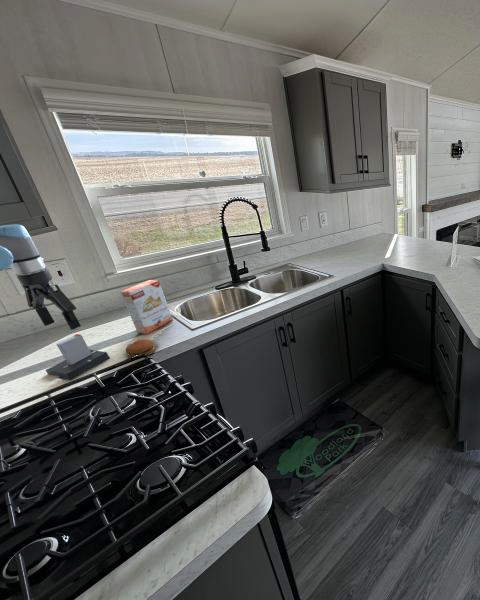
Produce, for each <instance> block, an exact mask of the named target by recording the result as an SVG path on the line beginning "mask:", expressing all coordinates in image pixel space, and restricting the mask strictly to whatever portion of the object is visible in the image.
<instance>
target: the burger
mask: <svg viewBox="0 0 480 600" xmlns="http://www.w3.org/2000/svg"><path fill="white" fill-rule="evenodd" d="M154 342H155V341H154V340H152V339H151V338H150V339H149V338H141V339H137V340H135V341H134V342H131V343H130V344H127V345H126V347H125V353H127V354H128V358H129V359H131V358H132V357H134V356H136V355H140V354H148V356H150V355H151V354H153V353H155V352H156V350H157V348H156V346H155V345H154Z"/></svg>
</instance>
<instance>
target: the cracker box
mask: <svg viewBox="0 0 480 600" xmlns="http://www.w3.org/2000/svg"><path fill="white" fill-rule="evenodd" d="M119 293H120V295H121V297H122V299H123V303H124V304H125V306H126V310H127V311H128V314H129V316H130V318H131V320H132V324H133V326H134V328H135V330H136V333H138V334H144V335H148V334H150V333H152V332H153V331H156V330H158V329H159V328H161V327H163V326H164V325H165V326H166V325H167V324H169V323H170V322H172V321H173V320H174V319H173V316H172V313H171V311H170V307H169V305H168V302H167V300H166V297H165V293H164V291H163V288H162V286H161V283H160V281H159V280H157V279H155V280H153V279H149V280H146V281H143V282H140V283H138V284H135V285H133V286H131V287H127V288H126V289H123V290H121V291H120V292H119Z"/></svg>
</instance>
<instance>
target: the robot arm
mask: <svg viewBox="0 0 480 600" xmlns="http://www.w3.org/2000/svg"><path fill="white" fill-rule="evenodd" d="M44 260H45V259H44V258H43V257H42V256H41V255H40V252H39V250H38V248H37V247H36V244H35V242H34V241H33V239H32V236H31V235H30V233H29V232H28V230H27V229H26V228H25V226H24V225H22V224H19V223H17V224H16V223H14V224H3V225H0V272H2V271H5V270H7V269H8V268H10V269H12V271H13V273H14V274H15V275H17V276H16V278H17V279H18V281H19V282H20V284H21V287H22V288H23V290H24V294H25V299H26V303H27V306H28V307H29V308H32V309H33V310H35V312H36V314H37V315H38V317H39V318H40V320H41V322H42V324H43V325H44V326H45V327H48V326H49V325H52V324H54V323H55V320H54V318H53V317H52V315H51V313H50V311H49V309H48V308H47V305H46V304H45V300H48V301H50V302H51V303H52V304H53V305H54V306H56V307H57V308H58V309H59V310H60V311H61V315H62V316H63V318H64V320H65V321H66V323H67V325H68V327H69V329H70V330H71V331H73V330H75V329H78V328H80V327H81V326H82V325H81V323H80V322H79V320H78V317H77V316H76V314H75V312H74V311H75V310H77V307H76V306H75V305H74V303H73V302H72V301H71V300H70V299H69V298H68V297H67V295H66V294H65V293H64V292H63V291H62V290H61V288H60V287H59V285H58V284H54V285H53V284H52V285H51V283H50V281H52V280H53V276H52V274H51V272H50V270H49V269H47V266H46V264H45V262H44Z"/></svg>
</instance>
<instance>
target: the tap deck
mask: <svg viewBox="0 0 480 600" xmlns="http://www.w3.org/2000/svg"><path fill="white" fill-rule="evenodd" d="M89 350H90V352H91V355H89V356H87V357H86V358H84V359H82V360H80V361H78V362H76V363H74V364H72V365H70V364H68V363H67V362H66V360H65V359H64V360H62V361H60V362H58V363H57V364H55V365H52V366H50V367H49V368H47V369H45V372H46V373H47V375H48V376H49V375H50V376H55V377H57V379H60V380H65V381H69V382H70V381H72V380H75V379H76V378H78V377H79V376H81V375H84V374H85V373H87V372H89V371H90V370H92V369H94V368H96V367H97V366H99V365H102V364H104V362H106V361H108V360H110V359H111V357H110V356H109V353H108V351H107V352H106V351H101V350H95V349H90V348H89Z"/></svg>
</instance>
